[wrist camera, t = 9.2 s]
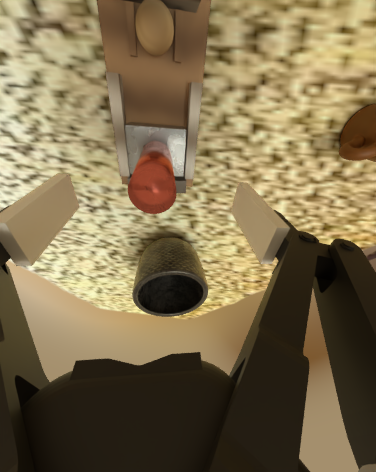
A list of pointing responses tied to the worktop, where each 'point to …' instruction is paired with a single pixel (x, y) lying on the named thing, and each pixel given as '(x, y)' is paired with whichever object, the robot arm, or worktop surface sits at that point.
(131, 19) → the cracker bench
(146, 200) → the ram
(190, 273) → the planter
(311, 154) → the worktop surface
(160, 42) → the walnut
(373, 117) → the mug
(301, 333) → the robot arm
